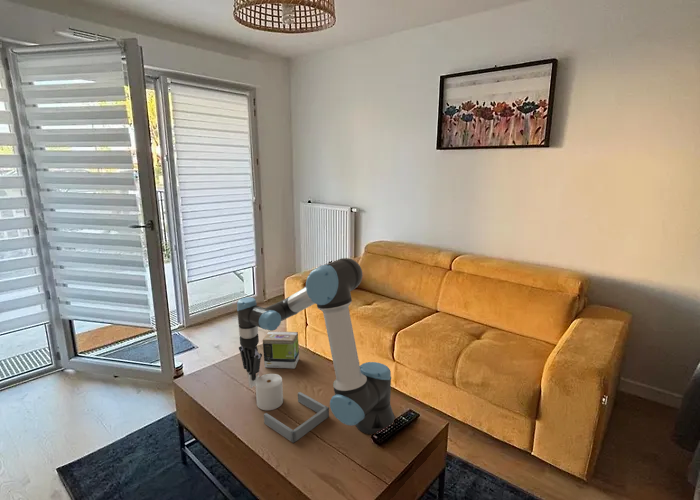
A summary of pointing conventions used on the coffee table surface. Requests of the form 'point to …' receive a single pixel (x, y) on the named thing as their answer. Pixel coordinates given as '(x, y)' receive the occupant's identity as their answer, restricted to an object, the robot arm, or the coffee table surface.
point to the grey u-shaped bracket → (304, 427)
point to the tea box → (281, 349)
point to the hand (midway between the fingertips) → (252, 385)
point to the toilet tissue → (269, 391)
